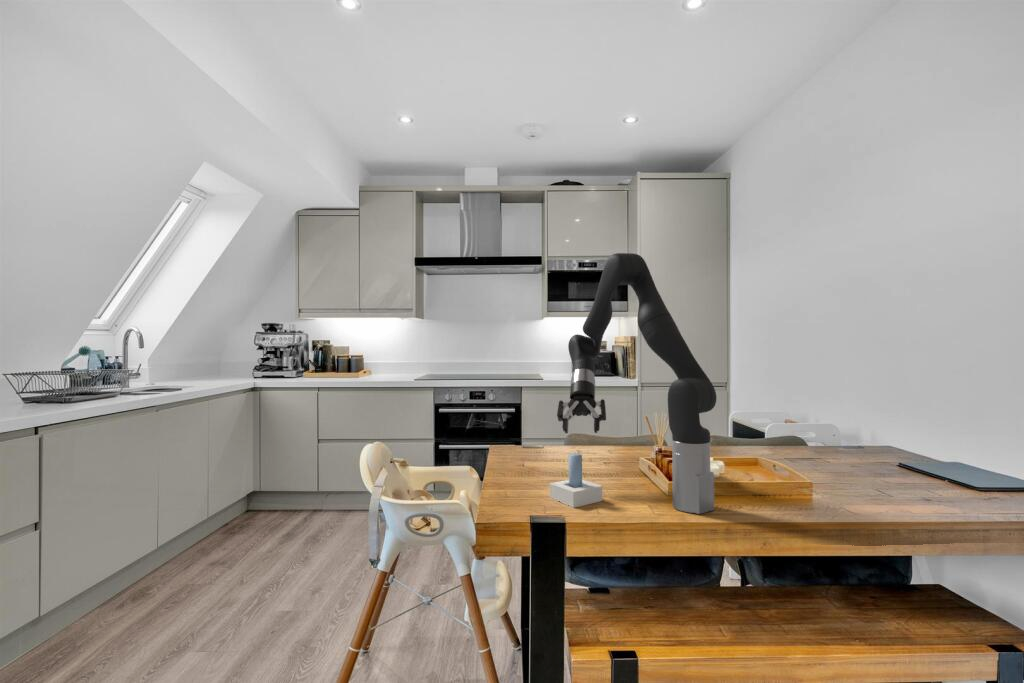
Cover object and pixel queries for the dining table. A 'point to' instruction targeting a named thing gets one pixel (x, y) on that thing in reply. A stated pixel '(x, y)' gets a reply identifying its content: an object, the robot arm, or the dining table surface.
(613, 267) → the robot arm
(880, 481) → the dining table surface
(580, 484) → the peg
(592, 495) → the socket
